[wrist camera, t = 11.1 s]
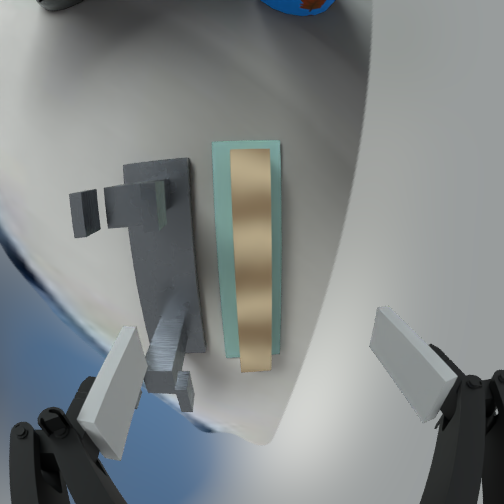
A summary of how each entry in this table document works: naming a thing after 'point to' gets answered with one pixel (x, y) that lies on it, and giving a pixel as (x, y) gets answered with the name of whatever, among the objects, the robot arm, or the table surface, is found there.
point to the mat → (226, 238)
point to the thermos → (300, 6)
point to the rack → (156, 264)
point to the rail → (252, 255)
